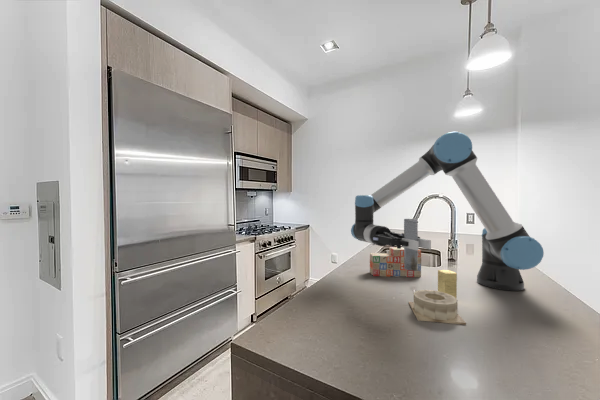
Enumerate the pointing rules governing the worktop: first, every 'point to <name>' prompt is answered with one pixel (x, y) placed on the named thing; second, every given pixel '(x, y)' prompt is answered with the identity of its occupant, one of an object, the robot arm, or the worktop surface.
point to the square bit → (447, 282)
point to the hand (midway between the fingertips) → (423, 245)
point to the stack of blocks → (392, 264)
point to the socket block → (435, 307)
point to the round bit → (409, 254)
